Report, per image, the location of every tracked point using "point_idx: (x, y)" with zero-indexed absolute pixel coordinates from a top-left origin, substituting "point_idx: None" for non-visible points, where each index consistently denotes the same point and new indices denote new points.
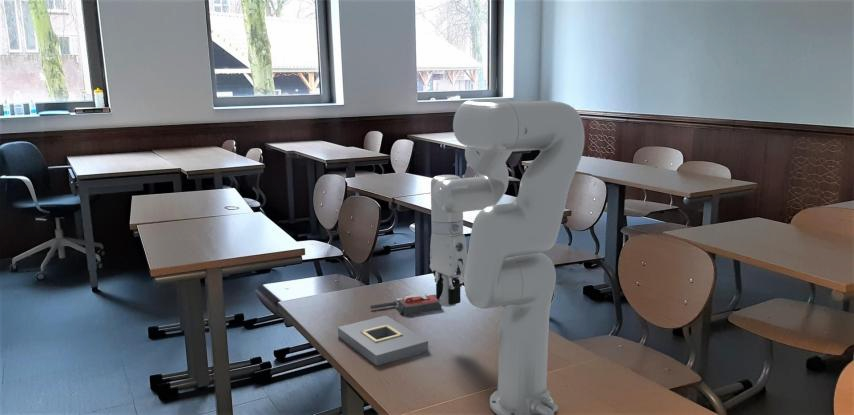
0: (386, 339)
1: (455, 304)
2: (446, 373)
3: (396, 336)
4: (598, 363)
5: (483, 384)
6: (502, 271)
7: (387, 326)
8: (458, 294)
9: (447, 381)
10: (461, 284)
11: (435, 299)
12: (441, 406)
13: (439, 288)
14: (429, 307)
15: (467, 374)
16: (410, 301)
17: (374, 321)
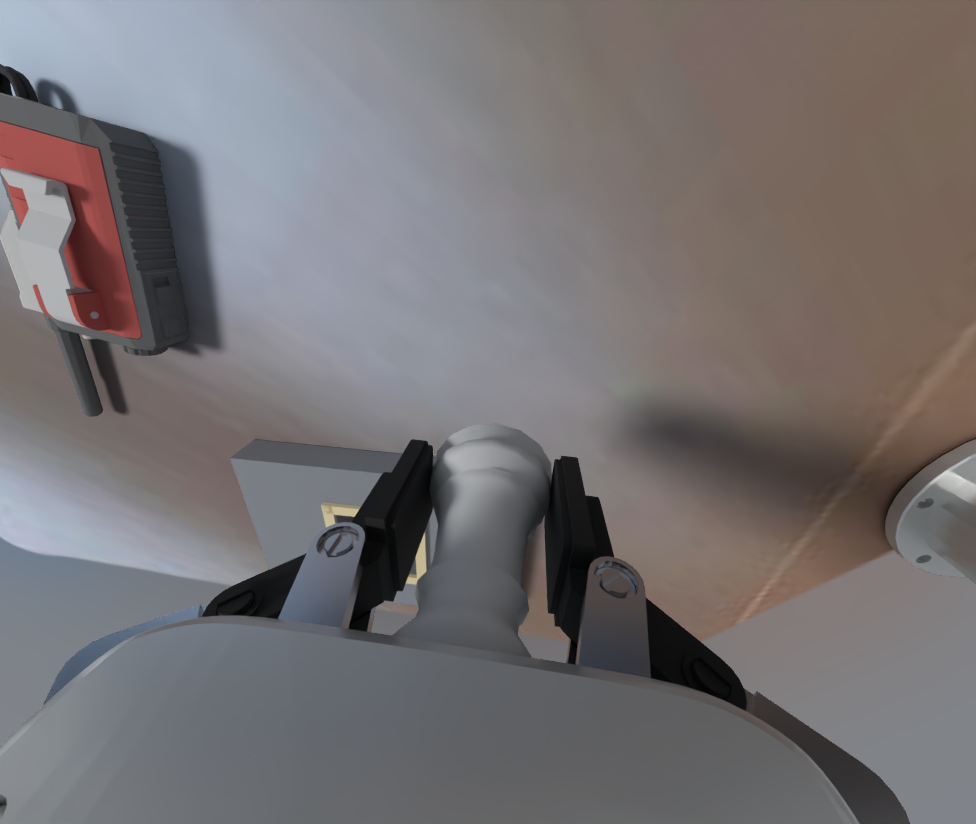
0: (426, 558)
1: (546, 462)
2: (669, 513)
3: (425, 533)
4: None
5: (811, 487)
6: None
7: (338, 513)
8: (603, 533)
9: (703, 536)
10: (685, 640)
11: (79, 154)
12: (770, 605)
13: (411, 556)
14: (149, 219)
15: (728, 480)
16: (98, 303)
17: (272, 509)
